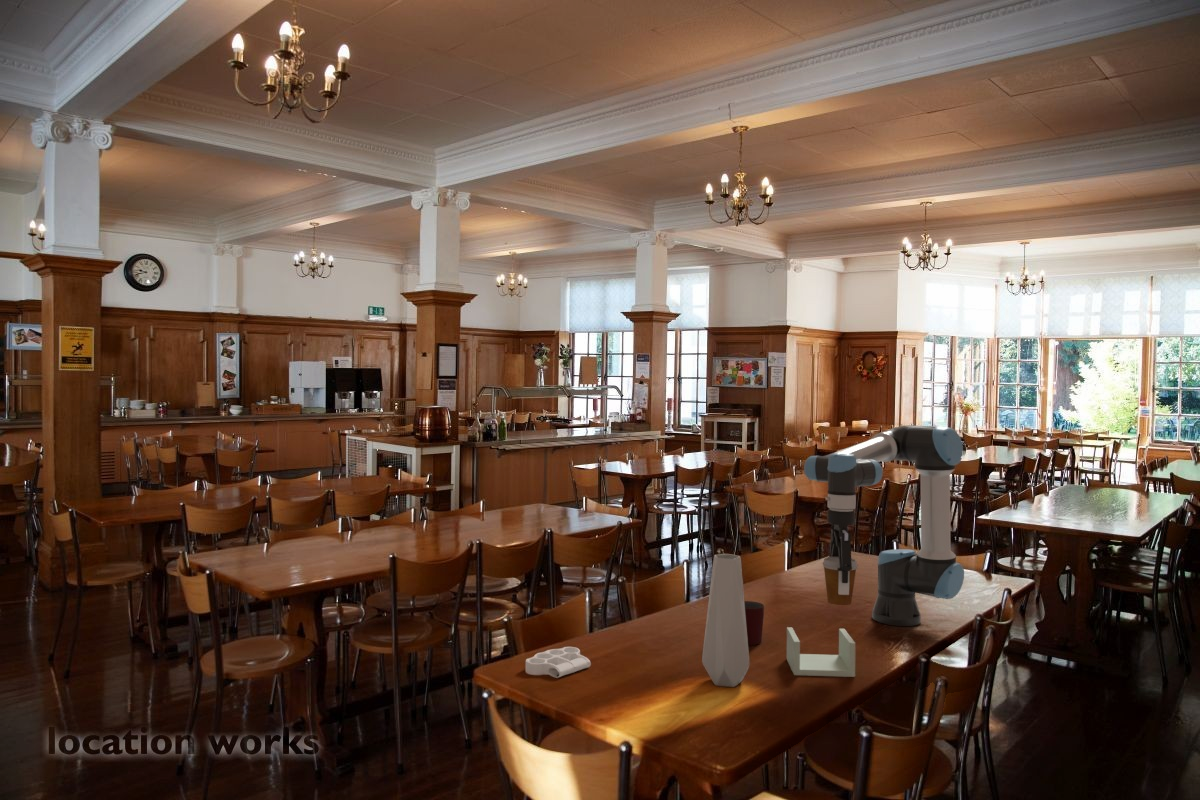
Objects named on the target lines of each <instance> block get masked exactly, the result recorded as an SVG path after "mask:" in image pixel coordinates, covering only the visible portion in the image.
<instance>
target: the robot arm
mask: <svg viewBox="0 0 1200 800" xmlns="http://www.w3.org/2000/svg"><path fill="white" fill-rule="evenodd" d="M963 450H964V446H963V441H962V438H961V436H960V434H958V432H957V431H956V429H954V428H952V427H948V426H940V425H912V424H909V425H908V424H906V425H901V426H900V425H899V426H896V427H893V428H890V429H887V430H884V431H881V432H878V433H875V434H874V435H873V436H872V437H871V439H868V440H865V441H863V442H859V443H857V444H854V445H851V446H848V447H846V448H843V449H840V450H839V451H838V450H837V451H835V452H832V453H829V454H826V455H823V456H822V455H811V456H809V457H808V458H807V459H806V460H805V461H804V464H803V465H804V467H803V469H804V474H805V477H806V478H807V479H808V480H811V481H815V482H821V483H822V482H823V483H827V496H825V498H824V499H825V501H827V505H826V507H827V508H828V509H827V510H826V522H827V523H828V524H830V525H831V526H830V542H829V543H830V544H829V555H828V557H839V563H840V568H838V569H837V571H839V584H838V594H839V595H849V572H850V570H852V562H851V559H852V543H851V541H852V533H851V532H850V531H849V530H848V529H849V528H848V526H853V525H854V524H856V511H855V509H856V507H857V504H856V501H857V493H856V490H857V489H856V488H857V487H871V486H874V485H876V484H878V483H880V481H881V480H882V478H883V474H884V473H883V467H882V466H881V464H880V462H884V463H888V462H891V461H904V462H905V461H906V462H913V463H914V467H915V468H914V469H915V471H917V472H918V473H919V474H920V475H919V477H920V528H921V529H920V536H921V538H920V539H921V541H920V542H921V543H920V544H921V545H920V547H921V548H920V549H919V550H918V551H917V552H916V550H914V549H908V548H897V549H887V550H882V551H880V552H879V555H878V560H877V597H876V599H875V602H874V606H873V608H872V611H871V615H872V616H871V618H872V619H873V621H876V622H877V623H881V624H884V625H888V626H897V627H913V626H919V625H920V624H921V622H922V617H921V616H922V615H921V611H920V609H919V605H918V603H917V599H916V594H919V595H925V596H929V597H933V598H935V599H943V600H951V599H953V598H955V597H956V596H957V595H958V593H960V591H961V589H962V587H963V584H964V581H965V579H964V578H965V570H964V569H965V568H963V565H962V564H961V563H959V562H957V555H956V554H955V553H954V552H953V551H952V547H951V545H952V544H951V543H952V542H951V484H950V483H951V474H952V473H953V472H954V471H955V470H956V466H957V465H958V464H960V462H961V461H962V457H963V455H964V451H963Z"/></svg>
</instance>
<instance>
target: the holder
mask: <svg viewBox="0 0 1200 800" xmlns="http://www.w3.org/2000/svg"><path fill="white" fill-rule="evenodd" d="M786 660H787V663H788V665H789V667H790V670H791V671H792V674H793V675H794V676H809V677H811V676H815V677H844V678H847V677H848V678H849V677H850V678H851V677H852V678H855V677H856V642H855V641H854V639H853V638H852V637H851V635H850V634H849V633H848V631H847V630H846V629H845V628H838V654H819V653H818V654H817V653H816V654H815V653H814V654H813V653H801V641H800V639H799V637H798V636H797V633H796V632H795V630H794V628H793V627H789V626H787V627H786Z"/></svg>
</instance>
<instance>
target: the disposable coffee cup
mask: <svg viewBox="0 0 1200 800" xmlns="http://www.w3.org/2000/svg"><path fill="white" fill-rule="evenodd" d="M851 562H852V570H850V572H849V595H839V594H838V584H839V571H837V569H838V568H840V563H839V557H829V556H827V557H824V558H823V561H822V563H821V565H822V566H823V570H824V579H825V588H826V600H827V603H829V604H830V605H833V606H835V605H836V606H849V605H852V600H853V593H854V586H855V579H856V572H857V569H858V566H859V565H858V563H857V560H856V559H854V558H851Z"/></svg>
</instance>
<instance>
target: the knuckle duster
mask: <svg viewBox="0 0 1200 800" xmlns="http://www.w3.org/2000/svg"><path fill="white" fill-rule="evenodd" d="M591 665H592V663H591V660H590V659H589V658H588V657H587V656H584V655H583V654H581V650H580V649H579V648H578V647H576V646H575V647H574V646H563V647H561V648H552V649H547V650H545V651H541V652H537V653H536V654H534V656H532V657H529V658H526V659H525V673H526V674H527V675H532V676H542V675H546V676H547V675H549V676H550V677H553V678H556V679H558V678H561V677H564V676H566V675H570V674H573V673H575V672H578V671H581V670H585V669H588V668H590V667H591Z"/></svg>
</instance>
